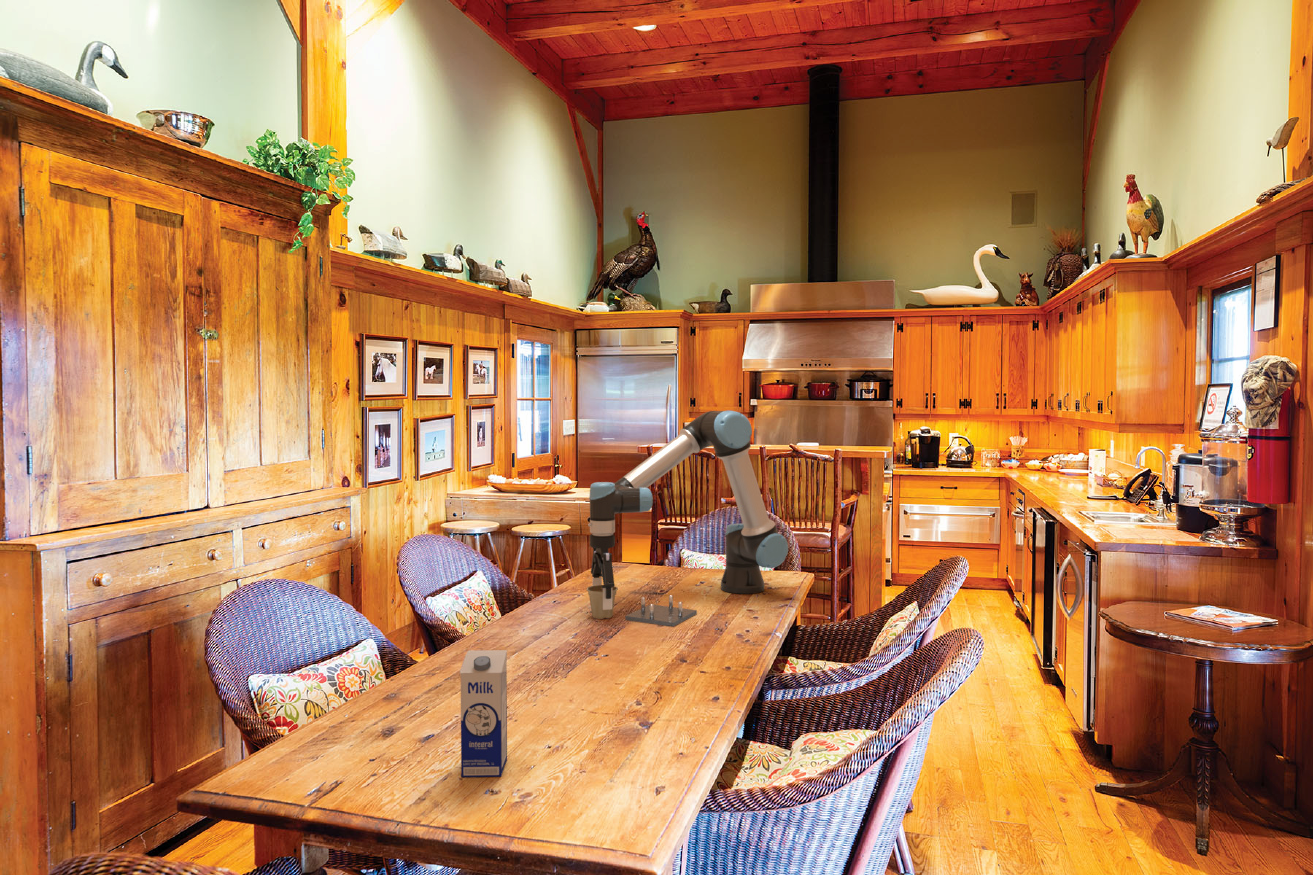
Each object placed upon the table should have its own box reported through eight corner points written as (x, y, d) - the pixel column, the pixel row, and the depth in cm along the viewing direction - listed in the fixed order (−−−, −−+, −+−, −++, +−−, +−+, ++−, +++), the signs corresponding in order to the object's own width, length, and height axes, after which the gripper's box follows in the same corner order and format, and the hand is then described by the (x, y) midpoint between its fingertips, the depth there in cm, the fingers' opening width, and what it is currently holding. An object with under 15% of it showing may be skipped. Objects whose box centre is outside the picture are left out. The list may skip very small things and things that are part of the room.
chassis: (650, 607, 250) (650, 591, 250) (696, 614, 243) (696, 597, 242) (625, 619, 236) (625, 602, 236) (673, 626, 228) (673, 608, 228)
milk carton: (508, 759, 142) (507, 648, 141) (502, 776, 135) (501, 660, 134) (468, 759, 142) (467, 649, 141) (460, 777, 135) (459, 661, 134)
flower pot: (616, 620, 235) (616, 591, 234) (585, 620, 235) (584, 591, 235) (618, 612, 244) (618, 584, 244) (588, 612, 244) (588, 584, 244)
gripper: (581, 528, 249) (581, 595, 250) (599, 540, 226) (599, 614, 226) (604, 527, 252) (604, 593, 252) (625, 539, 228) (624, 612, 229)
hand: (602, 603), depth 239 cm, fingers open, 13 cm apart
